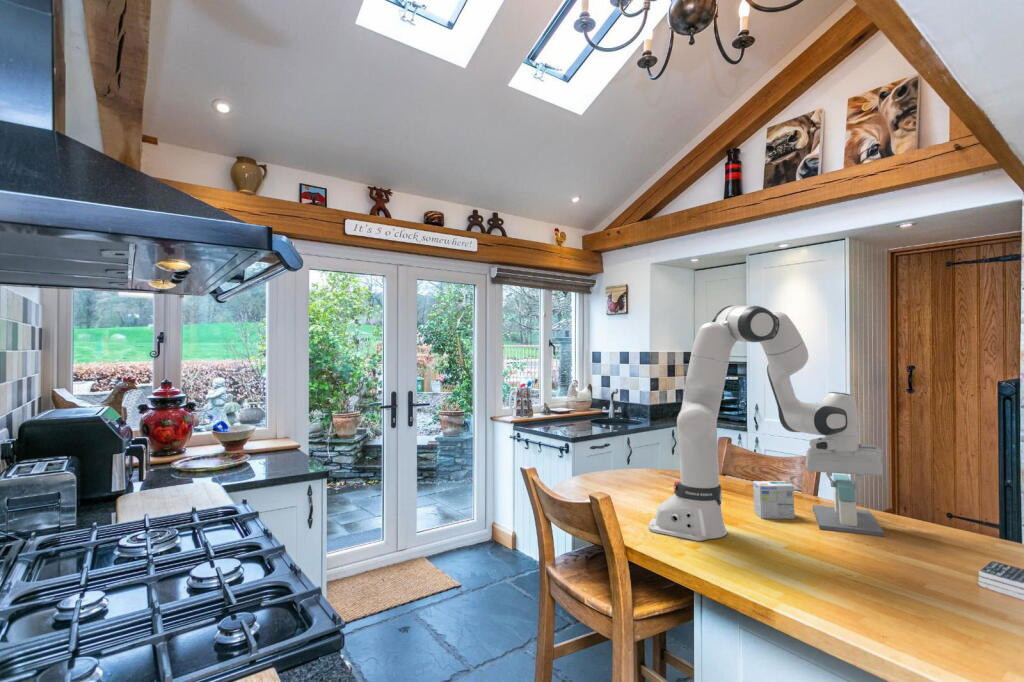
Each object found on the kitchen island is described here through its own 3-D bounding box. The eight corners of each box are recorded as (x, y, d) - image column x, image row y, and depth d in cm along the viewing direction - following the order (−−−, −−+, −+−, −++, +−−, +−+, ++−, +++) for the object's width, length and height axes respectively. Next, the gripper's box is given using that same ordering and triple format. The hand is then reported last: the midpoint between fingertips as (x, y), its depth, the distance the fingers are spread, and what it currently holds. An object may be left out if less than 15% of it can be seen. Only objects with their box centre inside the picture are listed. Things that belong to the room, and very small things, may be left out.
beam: (834, 486, 166) (833, 474, 167) (848, 487, 165) (847, 475, 165) (839, 500, 151) (838, 486, 151) (855, 501, 149) (854, 488, 149)
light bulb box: (786, 512, 167) (785, 480, 168) (795, 519, 161) (794, 485, 161) (753, 512, 168) (751, 480, 169) (761, 519, 162) (759, 485, 162)
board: (819, 529, 151) (818, 501, 151) (812, 508, 171) (811, 484, 171) (884, 536, 144) (882, 507, 144) (869, 514, 164) (868, 488, 164)
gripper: (879, 443, 157) (881, 488, 156) (804, 440, 165) (805, 482, 165) (884, 447, 151) (886, 493, 151) (806, 443, 159) (808, 487, 159)
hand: (843, 487), depth 158 cm, fingers closed on beam, 4 cm apart
